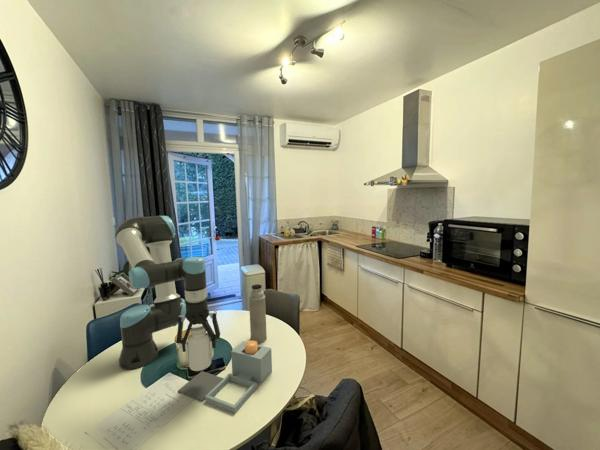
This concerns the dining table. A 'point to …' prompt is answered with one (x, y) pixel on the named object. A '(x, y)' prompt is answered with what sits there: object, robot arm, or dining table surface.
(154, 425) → the dining table surface
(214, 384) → the mat
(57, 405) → the dining table surface
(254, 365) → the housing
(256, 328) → the thermos bottle
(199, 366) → the pill bottle
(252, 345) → the plunger
